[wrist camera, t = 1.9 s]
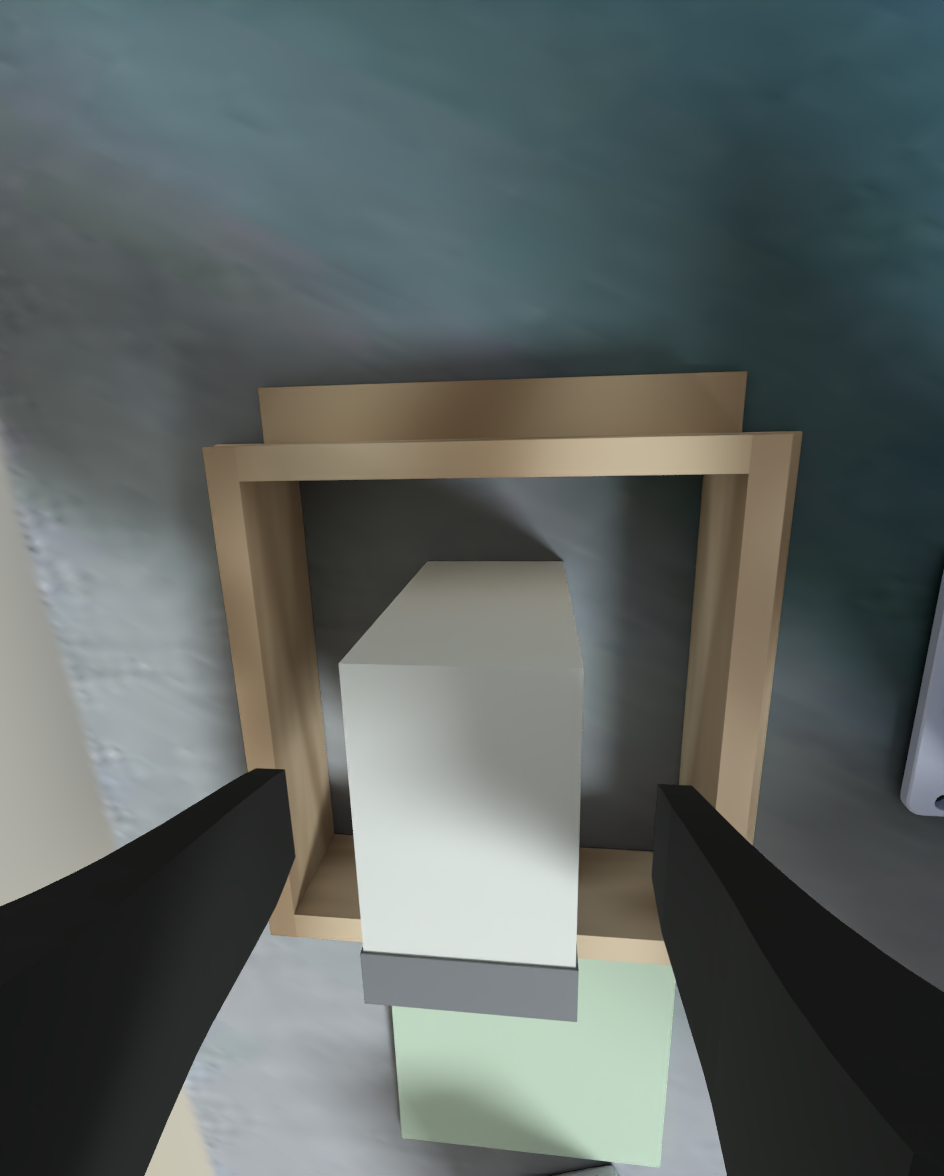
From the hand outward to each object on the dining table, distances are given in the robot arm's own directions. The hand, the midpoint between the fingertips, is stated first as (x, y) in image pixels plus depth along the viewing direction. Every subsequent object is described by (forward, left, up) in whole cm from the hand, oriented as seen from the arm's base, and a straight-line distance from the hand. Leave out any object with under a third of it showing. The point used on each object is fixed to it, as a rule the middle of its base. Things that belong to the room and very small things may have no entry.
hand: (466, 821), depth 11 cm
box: (0, 0, -7) cm, 7 cm away
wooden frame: (0, 0, -7) cm, 7 cm away
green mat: (-1, +15, -7) cm, 17 cm away
